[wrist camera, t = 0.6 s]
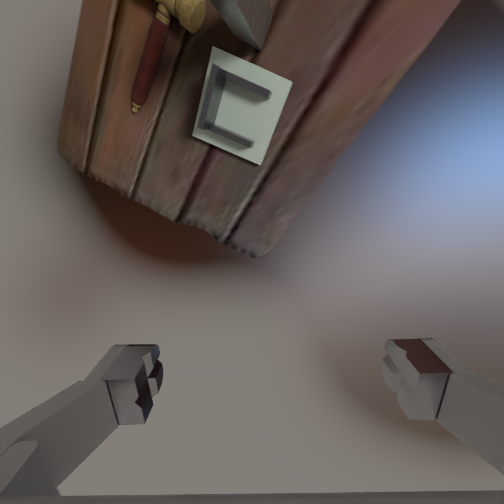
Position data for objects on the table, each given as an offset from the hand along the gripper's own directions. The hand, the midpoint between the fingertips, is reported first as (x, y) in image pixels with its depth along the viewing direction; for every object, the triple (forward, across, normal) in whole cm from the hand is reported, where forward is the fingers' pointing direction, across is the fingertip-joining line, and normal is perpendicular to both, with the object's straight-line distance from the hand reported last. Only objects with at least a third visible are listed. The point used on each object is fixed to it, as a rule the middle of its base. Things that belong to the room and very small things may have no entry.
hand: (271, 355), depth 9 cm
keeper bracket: (+43, +2, -16) cm, 46 cm away
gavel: (+44, +17, -26) cm, 54 cm away
